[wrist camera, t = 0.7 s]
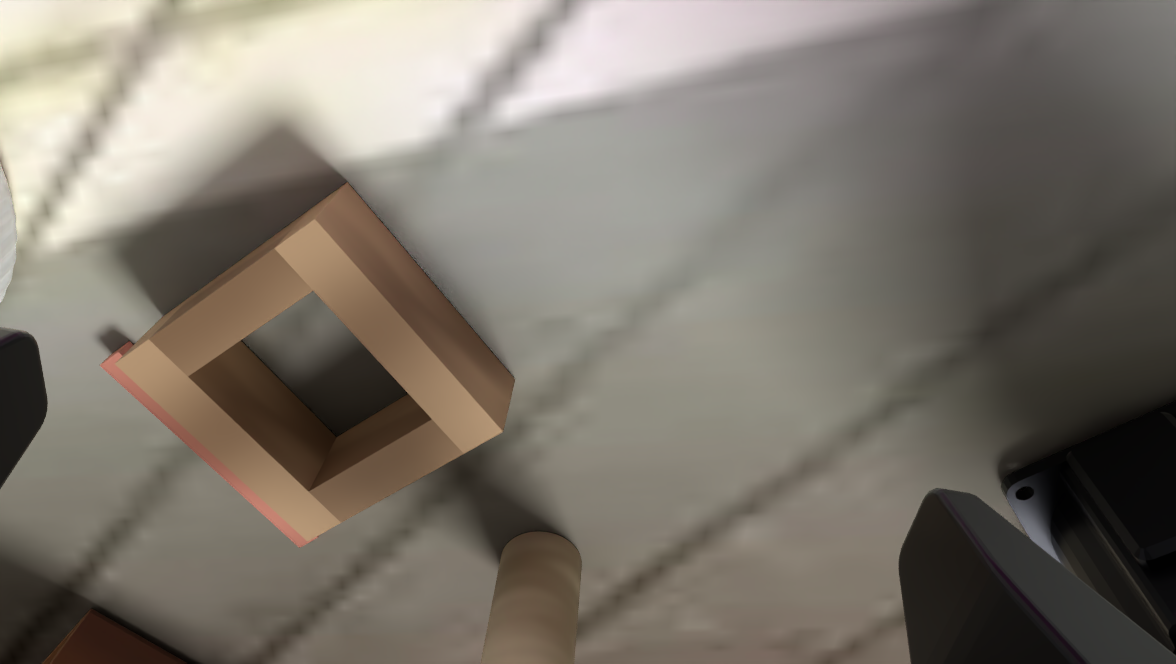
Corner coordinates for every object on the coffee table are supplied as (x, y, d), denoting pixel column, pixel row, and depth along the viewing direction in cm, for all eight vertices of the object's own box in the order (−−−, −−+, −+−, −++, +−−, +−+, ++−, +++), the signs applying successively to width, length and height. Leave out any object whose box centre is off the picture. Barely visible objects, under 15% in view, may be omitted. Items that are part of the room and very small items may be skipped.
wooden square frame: (535, 404, 25) (526, 458, 22) (305, 534, 27) (277, 592, 25) (347, 182, 22) (314, 218, 19) (111, 354, 24) (59, 403, 22)
